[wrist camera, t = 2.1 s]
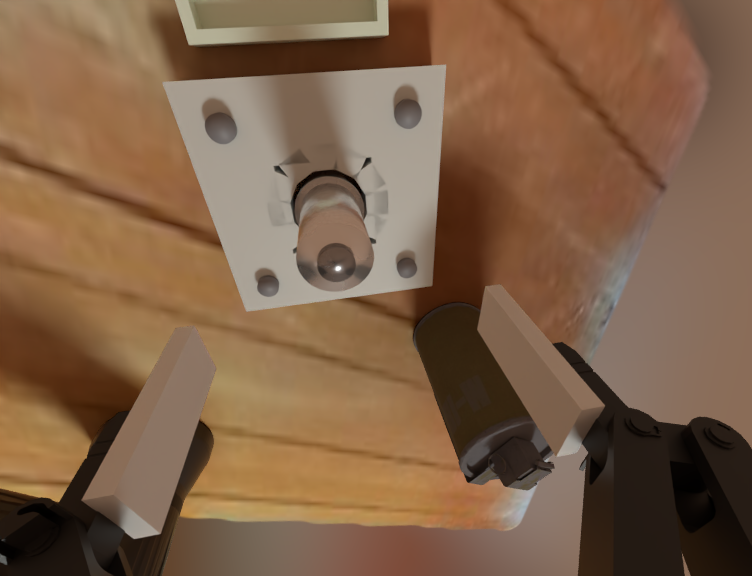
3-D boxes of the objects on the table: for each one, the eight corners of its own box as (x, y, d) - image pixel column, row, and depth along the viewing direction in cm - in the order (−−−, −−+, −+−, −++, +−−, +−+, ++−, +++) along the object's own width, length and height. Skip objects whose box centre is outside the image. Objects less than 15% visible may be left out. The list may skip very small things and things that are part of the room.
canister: (445, 290, 40) (535, 439, 24) (499, 318, 44) (607, 459, 28) (396, 347, 44) (445, 506, 28) (450, 367, 49) (519, 515, 32)
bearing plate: (251, 292, 36) (245, 316, 32) (180, 81, 24) (157, 82, 21) (423, 269, 38) (434, 290, 34) (431, 65, 26) (449, 64, 23)
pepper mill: (303, 227, 32) (297, 310, 21) (291, 167, 29) (276, 226, 18) (360, 221, 33) (385, 297, 22) (355, 161, 30) (381, 215, 18)
